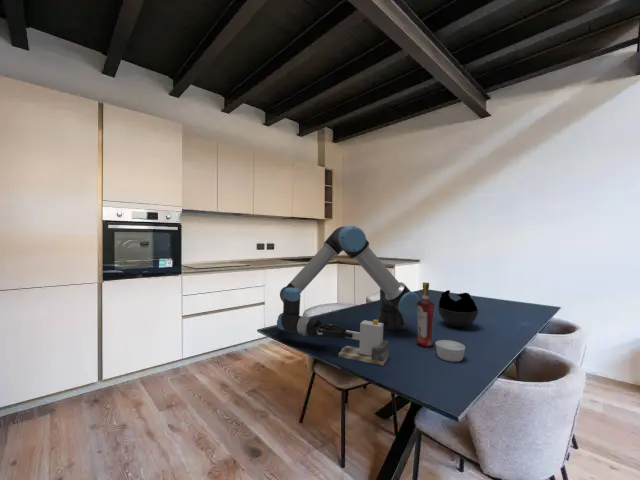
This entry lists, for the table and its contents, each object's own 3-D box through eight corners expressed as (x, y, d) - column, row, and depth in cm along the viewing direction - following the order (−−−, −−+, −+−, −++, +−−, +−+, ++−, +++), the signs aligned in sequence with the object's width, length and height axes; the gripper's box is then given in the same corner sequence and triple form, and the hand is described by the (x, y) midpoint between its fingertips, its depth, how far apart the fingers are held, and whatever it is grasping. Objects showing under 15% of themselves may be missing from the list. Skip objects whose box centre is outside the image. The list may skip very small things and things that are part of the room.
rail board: (338, 356, 121) (338, 340, 121) (346, 349, 129) (346, 334, 129) (383, 365, 113) (383, 348, 113) (388, 357, 121) (388, 341, 121)
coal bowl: (485, 332, 155) (486, 296, 154) (446, 331, 155) (446, 295, 155) (467, 321, 175) (467, 289, 174) (432, 320, 175) (432, 288, 175)
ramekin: (463, 365, 114) (463, 352, 114) (432, 359, 120) (432, 345, 120) (466, 356, 124) (467, 343, 124) (438, 350, 130) (438, 338, 130)
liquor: (412, 343, 137) (413, 282, 137) (425, 341, 140) (426, 281, 140) (424, 348, 131) (425, 284, 130) (437, 346, 134) (438, 283, 133)
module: (359, 353, 119) (360, 319, 119) (363, 349, 124) (364, 316, 124) (379, 357, 116) (380, 323, 116) (382, 353, 120) (383, 319, 120)
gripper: (316, 331, 138) (365, 341, 127) (301, 339, 126) (355, 351, 116) (316, 315, 138) (366, 323, 127) (302, 321, 126) (355, 331, 115)
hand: (361, 336), depth 121 cm, fingers closed
